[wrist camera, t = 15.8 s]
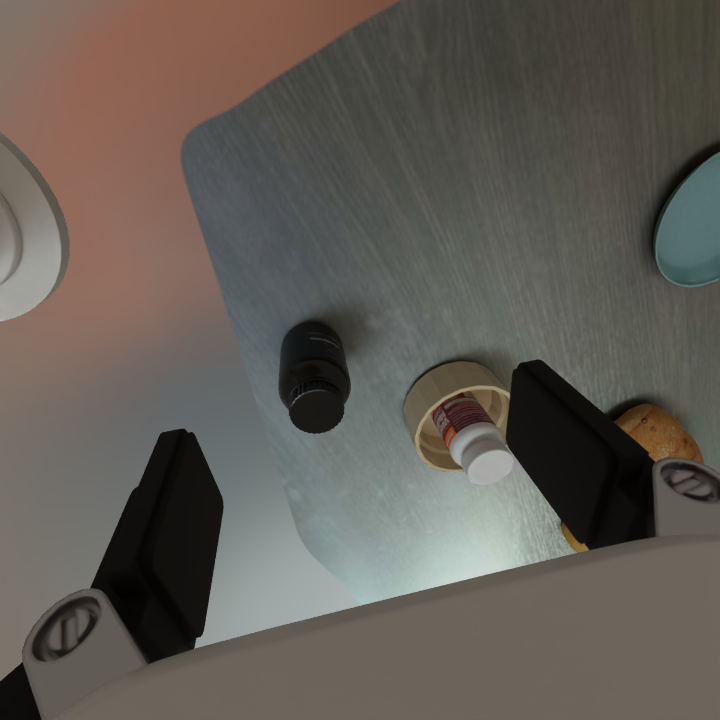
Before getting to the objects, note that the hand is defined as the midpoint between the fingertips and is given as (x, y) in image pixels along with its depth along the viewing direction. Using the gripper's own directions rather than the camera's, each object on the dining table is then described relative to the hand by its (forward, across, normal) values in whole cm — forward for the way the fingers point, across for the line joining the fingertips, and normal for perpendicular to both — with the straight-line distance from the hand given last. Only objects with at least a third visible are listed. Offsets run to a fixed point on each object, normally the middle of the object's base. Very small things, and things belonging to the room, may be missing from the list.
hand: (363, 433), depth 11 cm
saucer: (+30, -43, +5) cm, 53 cm away
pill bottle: (+29, -14, +24) cm, 41 cm away
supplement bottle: (+30, +2, +13) cm, 33 cm away
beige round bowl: (+30, -14, +24) cm, 41 cm away
